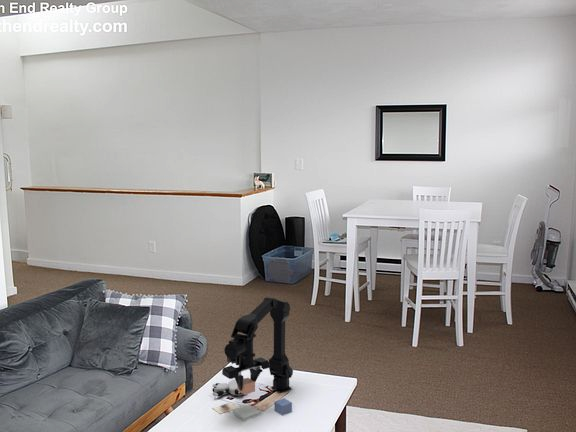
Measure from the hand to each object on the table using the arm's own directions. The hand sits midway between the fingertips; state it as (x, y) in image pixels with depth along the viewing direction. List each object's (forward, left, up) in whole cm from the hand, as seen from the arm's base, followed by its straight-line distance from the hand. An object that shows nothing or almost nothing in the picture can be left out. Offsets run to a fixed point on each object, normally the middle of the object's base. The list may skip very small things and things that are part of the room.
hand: (246, 388), depth 225 cm
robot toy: (-5, -20, -11) cm, 23 cm away
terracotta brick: (0, 0, -1) cm, 1 cm away
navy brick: (-13, +7, -11) cm, 18 cm away
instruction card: (+4, -9, -10) cm, 14 cm away
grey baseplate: (0, 0, -10) cm, 11 cm away
